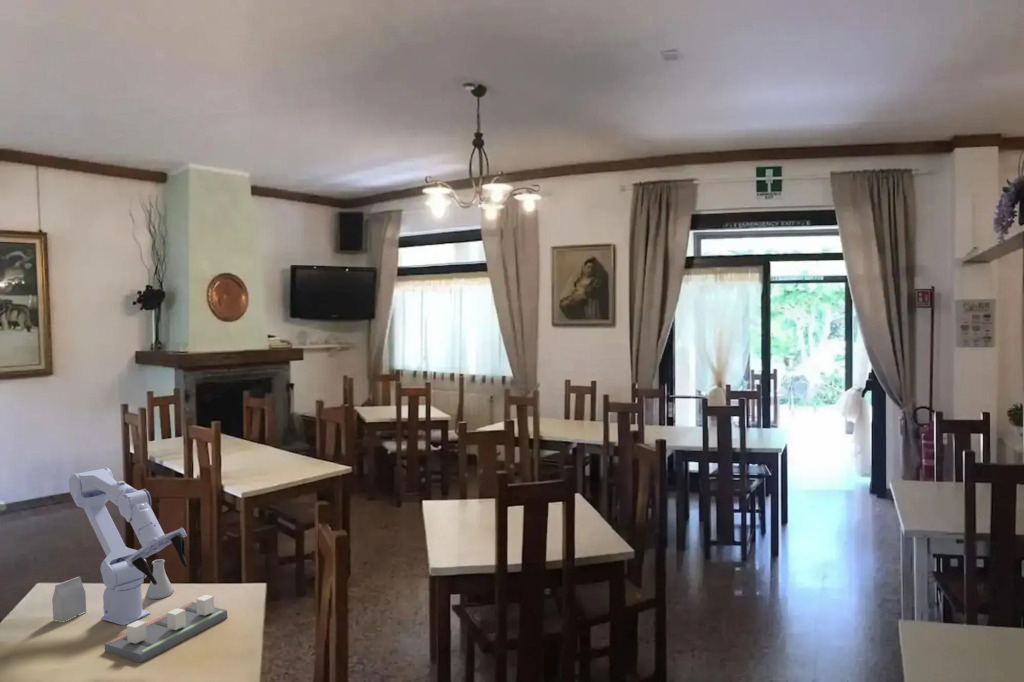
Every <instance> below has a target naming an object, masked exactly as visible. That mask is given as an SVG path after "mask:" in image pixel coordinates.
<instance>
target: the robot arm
mask: <svg viewBox="0 0 1024 682" xmlns="http://www.w3.org/2000/svg"><path fill="white" fill-rule="evenodd" d="M68 489H69V494H70V495H71V497H72V499H73V502H74V503H75V505H76V507H78V508H82V509H83V510H84V512H85V515H86V516H87V519H88V521H89V523H90V525H91V528H92V529H93V531H94V533H95V535H96V537H97V540H98V541H99V543H100V545H101V548H102V550H103V552H104V555H106V557H105V558H104V559H103V560H102V562H101V564H100V573H101V577H102V581H103V584H104V586H105V587H106V588H105V589H104V591H103V595H102V598H103V599H102V600H103V601H102V602H103V616H101V617H100V619H101V620H102V621H106V622H110V623H114V624H118V625H121V626H127V625H129V624H131V623H133V622H135V621H137V620H139V619H141V618H144V617H147V616H148V615H150V614H151V613H150V612H151V611H148V610H145V609H143V597H142V596H143V595H142V594H143V593H142V592H143V591H142V584H143V583H144V579H146V578H148V579H149V580H150V581H151V582H152V583H153V584H154V585H156V584H157V581H156V580H155V578H154V576H153V575H152V574H153V572H152V571H151V568H150V566H149V564H148V562H147V560H146V559H147V558H149V557H150V556H152V555H154V554H156V553H159V552H160V551H162V550H163V549H165V548H166V547H168V546H170V545H171V544H172V545H173V547H174V549H175V551H176V552H177V555H178V557H179V559H180V562H181V564H182V566H184V568H187V567H188V563H187V559H186V540H185V539H184V538H185V537H188V534H187V533H186V530H185V529H184V528H183V527H180V528H178V529H176V530H174V531H171V532H169V533H166V534H165V532H164V531H163V529H162V526H161V525H160V523H159V521H158V519H157V516H156V514H155V513H154V511H153V509H152V497H151V494H150V492H149V491H148V490H147V489H146V488H141V489H140V490H138V489H136V488H134V487H133V486H131V485H129V484H128V483H126V481H124V480H120V481H117V480H115V479H114V475H113V472H112V470H111V469H110V468H108V467H103V468H100V469H95V470H90V471H84V472H79V473H72V474H71V475H70V477H69V479H68ZM108 501H109V502H111V503H113V505H115V506H117V507H118V510H119V514H120V516H121V517H123V518H124V519H125V521H126V522H127V523H130V526H131V527H132V530H133V531H134V534H135V536H136V538H137V539H138V541H139V544H140V546H141V548H139V549H138V550H137V549H133V548H130V547H127V546H126V544H125V542H124V541H123V538H122V536H121V534H120V532H119V530H118V528H117V526H116V524H115V523H114V521H113V518H112V516H111V515H110V513H109V510H108V508H107V506H106V504H107V503H108Z"/></svg>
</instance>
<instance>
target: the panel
mask: <svg viewBox="0 0 1024 682" xmlns="http://www.w3.org/2000/svg"><path fill="white" fill-rule="evenodd" d="M179 609H183V610H185V613H186V625H185V626H183V627H181V628H179V629H177V630H173V629H170V628H168V622H167V613H166V614H164V615H162V616H160V617H158V618H156V619H154V620H152V621H149V622H148V623H147V622H146V632H147V638H146V639H144V640H142V641H140V642H138V643H136V644H135V643H132V642H128V641H127V632H126V633H124V634H122V635H120V636H118V637H116V638H113V639H111V640H110V641H107V642H105V643H104V652H105V653H108V652H109V654H111V653H112V654H111V655H114V654H115V656H117V655H118V656H117V657H121V658H125V659H127V658H128V660H130V659H131V660H132V661H133V662H138V663H140V662H142V663H144V662H145V660H146V661H147V659H148V658H149V659H151V658H153V657H155V656H157V655H159V654H161V653H163V652H164V650H165V651H166V649H167V650H169V649H170V648H172V647H174V646H176V645H177V644H180V643H182V642H184V641H185V639H186V640H188V639H189V638H191V637H194V636H195V635H197V634H199V633H201V632H203V631H204V629H205V630H206V629H208V627H209V628H210V627H212V626H215V625H216V624H218V623H220V622H222V621H224V620H226V619H228V610H226V609H223V608H219V607H215V606H214V611H213V612H211V613H209V614H207V615H201V614H197V603H196V601H195V602H194V601H192V602H189V603H188V604H186V605H184V606H182V607H180V608H179ZM225 618H226V619H225ZM183 640H184V641H183ZM162 651H163V652H162ZM160 652H161V653H160ZM158 653H159V654H158ZM156 654H157V655H156ZM154 655H155V656H154ZM152 656H153V657H152ZM150 657H151V658H150ZM149 659H148V660H149ZM131 660H130V661H131ZM143 661H144V662H143Z"/></svg>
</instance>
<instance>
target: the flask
mask: <svg viewBox="0 0 1024 682" xmlns="http://www.w3.org/2000/svg"><path fill="white" fill-rule="evenodd" d="M165 562H166V560H165V559H163V558H162V559H155V560H153V561H151V565H152V566H153V567H152V575H153V576H154V578H155V580H156V581H157V584H156V585H154V584H153V583H152V582H151V580H150V582H149V585H148V588H147V590H146V593H145V598H147V599H150V600H155V599H156V600H157V599H163V598H166V597H168V596H169V597H170V596H171V595H172V594H173V593H174V592H175V589H174V587H173V586H172V583H171V582H170V580H169V577H168V576H167V574H166V569H165Z"/></svg>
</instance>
